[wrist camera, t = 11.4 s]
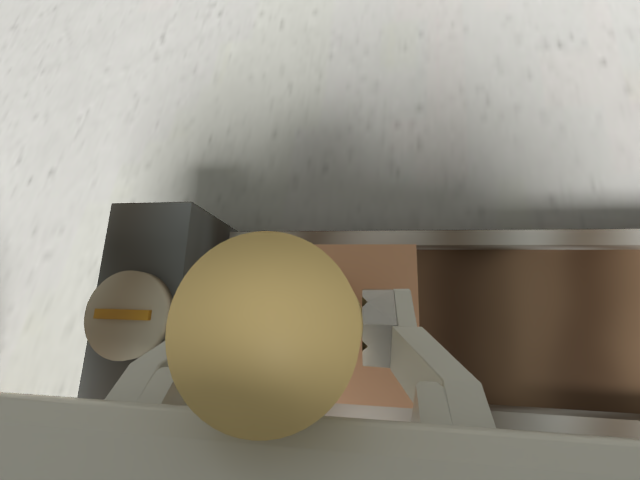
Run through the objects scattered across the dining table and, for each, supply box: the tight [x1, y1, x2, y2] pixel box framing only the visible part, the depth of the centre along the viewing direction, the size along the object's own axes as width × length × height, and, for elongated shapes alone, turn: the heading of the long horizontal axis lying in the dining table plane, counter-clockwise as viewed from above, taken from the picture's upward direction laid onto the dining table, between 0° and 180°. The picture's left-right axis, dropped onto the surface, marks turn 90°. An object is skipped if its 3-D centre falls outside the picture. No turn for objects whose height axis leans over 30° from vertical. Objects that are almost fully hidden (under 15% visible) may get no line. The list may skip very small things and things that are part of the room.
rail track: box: [77, 202, 640, 439], centre depth 15 cm, size 34×10×8 cm, turn 88°
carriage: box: [165, 231, 419, 441], centre depth 11 cm, size 8×7×13 cm
